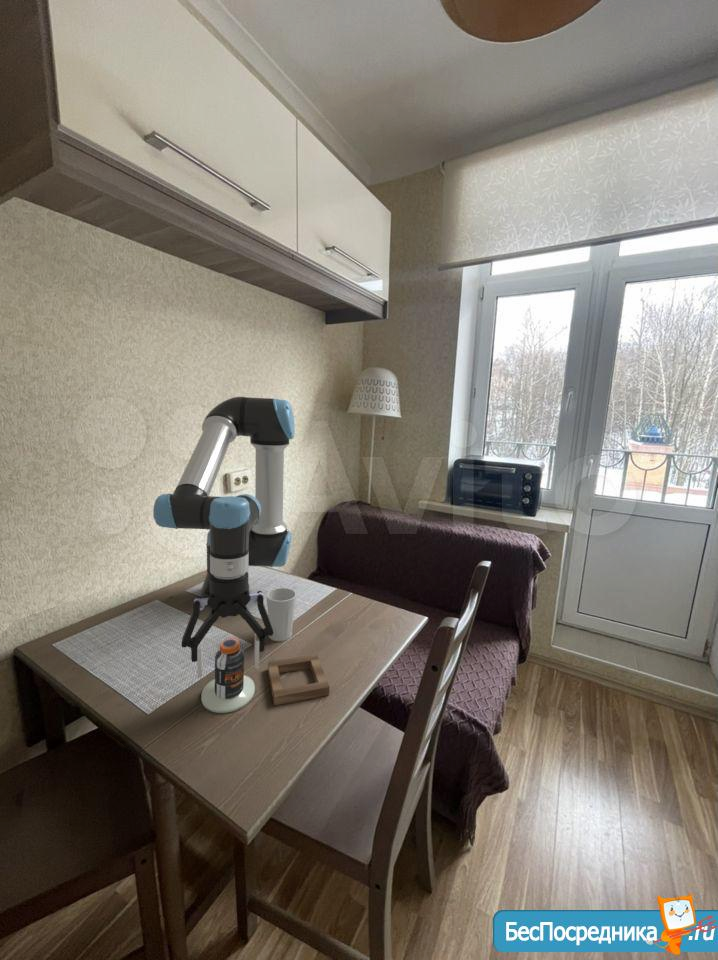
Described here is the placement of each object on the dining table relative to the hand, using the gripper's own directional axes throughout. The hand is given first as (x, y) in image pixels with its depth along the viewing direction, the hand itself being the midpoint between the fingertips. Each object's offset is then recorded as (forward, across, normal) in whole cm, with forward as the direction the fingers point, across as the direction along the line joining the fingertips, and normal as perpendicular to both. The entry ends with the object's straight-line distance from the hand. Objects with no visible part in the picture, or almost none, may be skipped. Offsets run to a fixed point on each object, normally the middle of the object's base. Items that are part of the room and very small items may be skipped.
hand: (228, 669), depth 83 cm
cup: (+6, +14, +20) cm, 25 cm away
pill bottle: (+5, 0, 0) cm, 5 cm away
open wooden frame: (+6, +15, 0) cm, 16 cm away
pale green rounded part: (+6, 0, 0) cm, 6 cm away
